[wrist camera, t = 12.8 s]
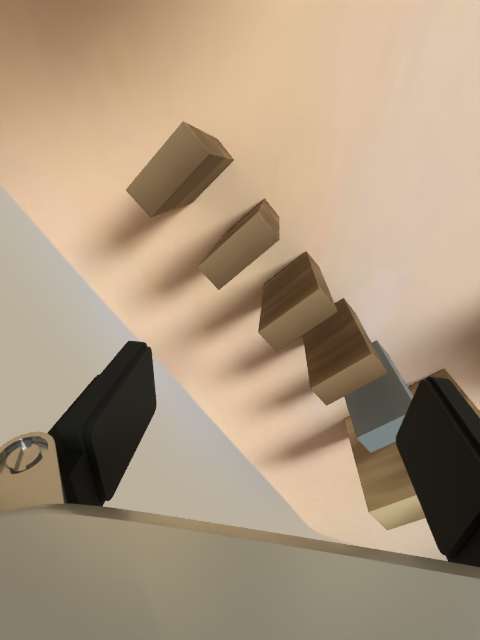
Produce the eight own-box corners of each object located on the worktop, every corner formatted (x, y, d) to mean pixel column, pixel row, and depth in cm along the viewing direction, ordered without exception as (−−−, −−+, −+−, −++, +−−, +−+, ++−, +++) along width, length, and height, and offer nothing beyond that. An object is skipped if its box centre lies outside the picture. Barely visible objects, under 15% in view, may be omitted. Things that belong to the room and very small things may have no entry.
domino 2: (223, 236, 28) (197, 267, 19) (264, 198, 26) (257, 212, 17) (237, 253, 29) (218, 290, 20) (279, 216, 27) (279, 239, 18)
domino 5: (335, 365, 33) (356, 438, 24) (376, 340, 31) (416, 409, 22) (346, 377, 33) (370, 452, 24) (387, 353, 31) (430, 425, 23)
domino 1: (177, 183, 27) (125, 190, 18) (217, 139, 25) (183, 121, 16) (193, 202, 27) (150, 217, 18) (234, 159, 25) (209, 153, 16)
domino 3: (264, 283, 30) (258, 332, 21) (306, 251, 28) (319, 288, 19) (277, 298, 30) (276, 352, 21) (319, 267, 28) (337, 311, 19)
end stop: (344, 419, 36) (368, 512, 26) (444, 368, 31) (519, 458, 22) (358, 434, 37) (387, 530, 27) (458, 387, 32) (536, 481, 22)
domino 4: (301, 326, 31) (310, 388, 22) (343, 298, 29) (371, 353, 20) (313, 339, 32) (326, 405, 23) (355, 312, 30) (387, 373, 21)
